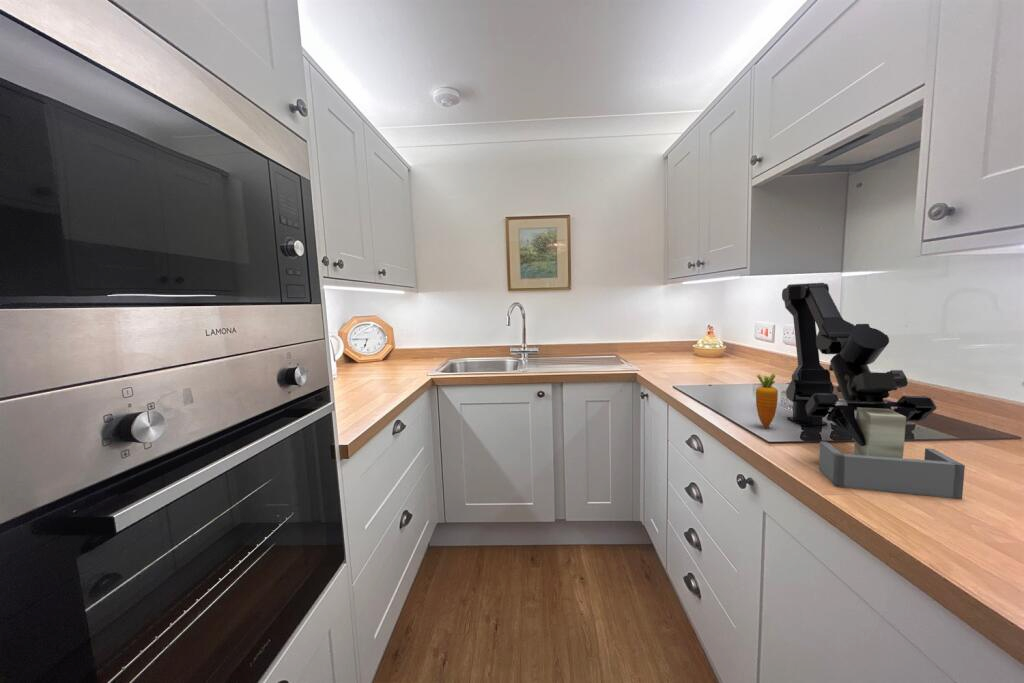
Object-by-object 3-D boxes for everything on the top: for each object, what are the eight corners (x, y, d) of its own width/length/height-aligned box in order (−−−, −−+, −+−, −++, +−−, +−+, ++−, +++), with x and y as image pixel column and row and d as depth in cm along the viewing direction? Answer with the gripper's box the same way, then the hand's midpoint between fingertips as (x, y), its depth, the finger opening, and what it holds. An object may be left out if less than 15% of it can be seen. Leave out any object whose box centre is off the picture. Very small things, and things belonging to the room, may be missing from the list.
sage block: (852, 469, 75) (856, 407, 73) (884, 472, 73) (889, 408, 71) (866, 480, 70) (871, 415, 69) (900, 484, 68) (906, 416, 67)
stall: (818, 469, 75) (820, 441, 75) (931, 479, 69) (933, 448, 69) (835, 486, 69) (837, 455, 68) (962, 498, 63) (964, 465, 62)
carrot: (750, 426, 101) (751, 373, 99) (762, 423, 103) (763, 371, 101) (769, 432, 96) (770, 376, 95) (781, 428, 98) (783, 373, 96)
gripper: (812, 355, 76) (836, 424, 67) (933, 355, 69) (977, 431, 60) (797, 383, 84) (816, 448, 75) (903, 386, 78) (938, 457, 68)
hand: (881, 446), depth 69 cm, fingers closed on sage block, 5 cm apart
